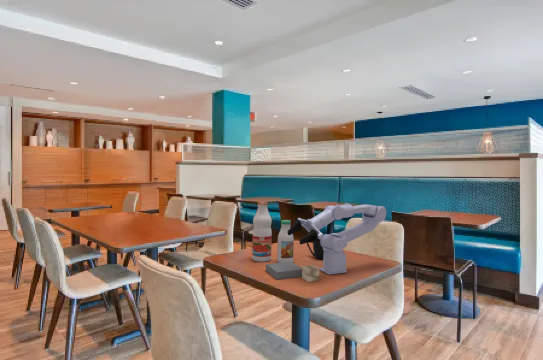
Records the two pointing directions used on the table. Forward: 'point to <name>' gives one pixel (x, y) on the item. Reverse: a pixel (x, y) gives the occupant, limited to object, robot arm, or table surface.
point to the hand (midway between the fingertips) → (293, 237)
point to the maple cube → (310, 273)
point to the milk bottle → (285, 243)
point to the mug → (317, 250)
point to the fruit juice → (262, 234)
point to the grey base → (284, 270)
